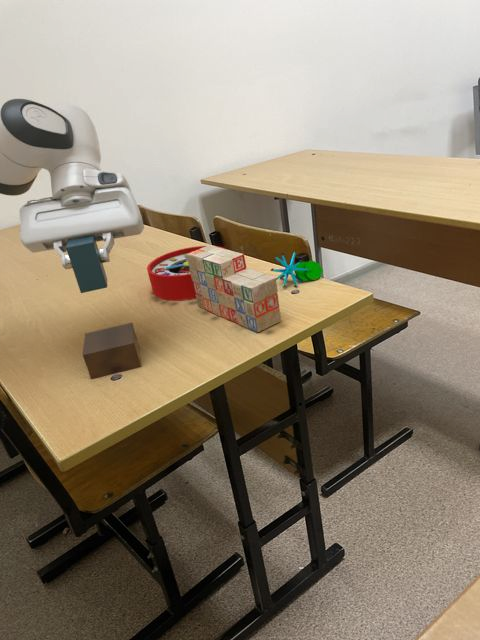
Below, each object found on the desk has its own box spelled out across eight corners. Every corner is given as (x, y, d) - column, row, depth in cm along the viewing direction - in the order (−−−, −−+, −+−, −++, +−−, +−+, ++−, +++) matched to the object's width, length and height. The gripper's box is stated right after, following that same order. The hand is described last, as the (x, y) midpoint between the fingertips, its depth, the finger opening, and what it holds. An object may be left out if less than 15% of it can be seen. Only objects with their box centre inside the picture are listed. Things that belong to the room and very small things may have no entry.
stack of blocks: (282, 321, 103) (274, 261, 97) (257, 334, 100) (247, 273, 94) (220, 296, 119) (209, 243, 113) (197, 306, 115) (185, 252, 110)
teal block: (80, 293, 88) (65, 247, 85) (82, 284, 92) (67, 240, 88) (107, 287, 89) (93, 242, 85) (107, 279, 93) (94, 234, 89)
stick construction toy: (275, 284, 114) (272, 249, 115) (265, 293, 121) (263, 260, 122) (326, 286, 118) (323, 252, 119) (313, 294, 124) (311, 262, 126)
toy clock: (235, 265, 117) (145, 283, 116) (239, 289, 120) (152, 307, 119) (225, 240, 135) (147, 255, 133) (229, 262, 138) (153, 277, 136)
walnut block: (91, 379, 94) (82, 355, 92) (92, 356, 102) (84, 333, 99) (141, 366, 95) (134, 342, 93) (139, 345, 103) (132, 322, 101)
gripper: (10, 192, 88) (15, 267, 85) (132, 172, 89) (142, 244, 86) (26, 212, 94) (32, 282, 91) (140, 193, 95) (150, 261, 92)
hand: (86, 264), depth 88 cm, fingers closed on teal block, 4 cm apart
